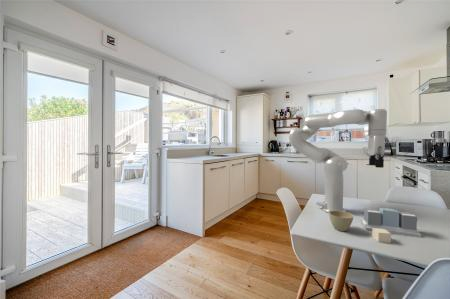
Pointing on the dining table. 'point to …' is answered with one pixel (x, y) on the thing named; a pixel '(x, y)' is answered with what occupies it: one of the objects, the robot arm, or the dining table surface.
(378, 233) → the beige cube
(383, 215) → the module
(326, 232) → the dining table surface
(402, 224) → the rail fixture
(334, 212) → the olive bowl
